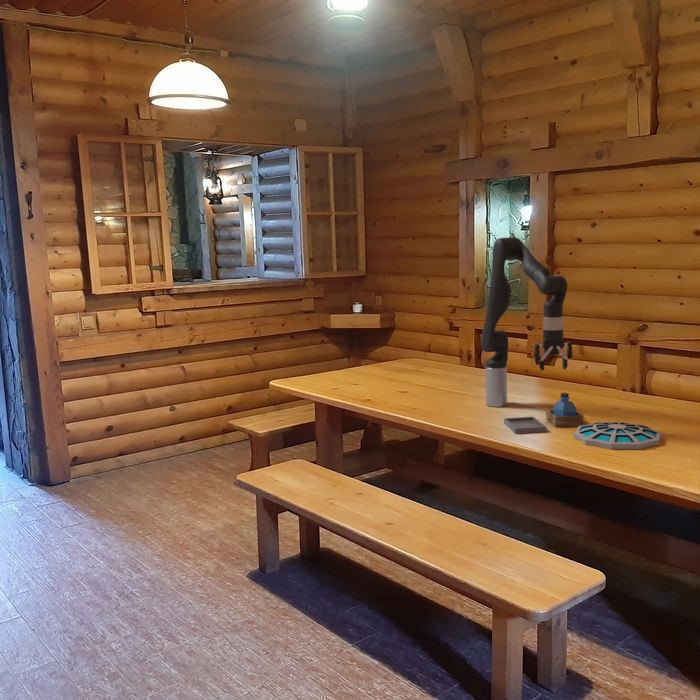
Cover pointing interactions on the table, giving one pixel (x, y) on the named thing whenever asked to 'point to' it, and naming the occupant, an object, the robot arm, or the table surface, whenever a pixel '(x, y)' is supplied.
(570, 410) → the perfume bottle
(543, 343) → the robot arm
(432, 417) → the table surface
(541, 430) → the tray
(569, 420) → the holder
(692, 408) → the table surface
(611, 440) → the decorative platform
